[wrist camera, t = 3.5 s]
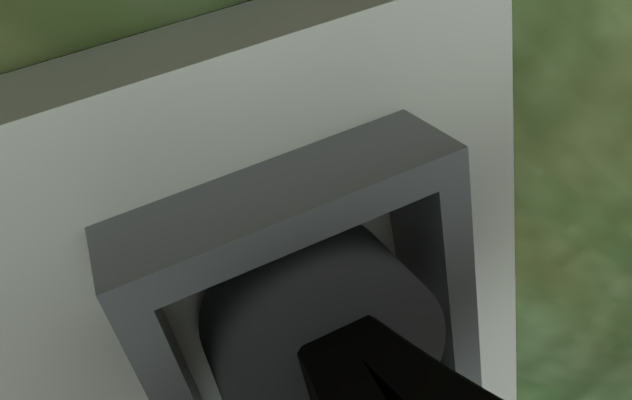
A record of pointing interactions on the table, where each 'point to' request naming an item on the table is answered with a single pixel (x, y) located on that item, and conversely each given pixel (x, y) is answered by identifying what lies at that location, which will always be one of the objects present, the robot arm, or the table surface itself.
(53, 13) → the table surface
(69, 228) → the button panel
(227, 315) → the grey button
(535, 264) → the table surface
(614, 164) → the table surface
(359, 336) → the robot arm
